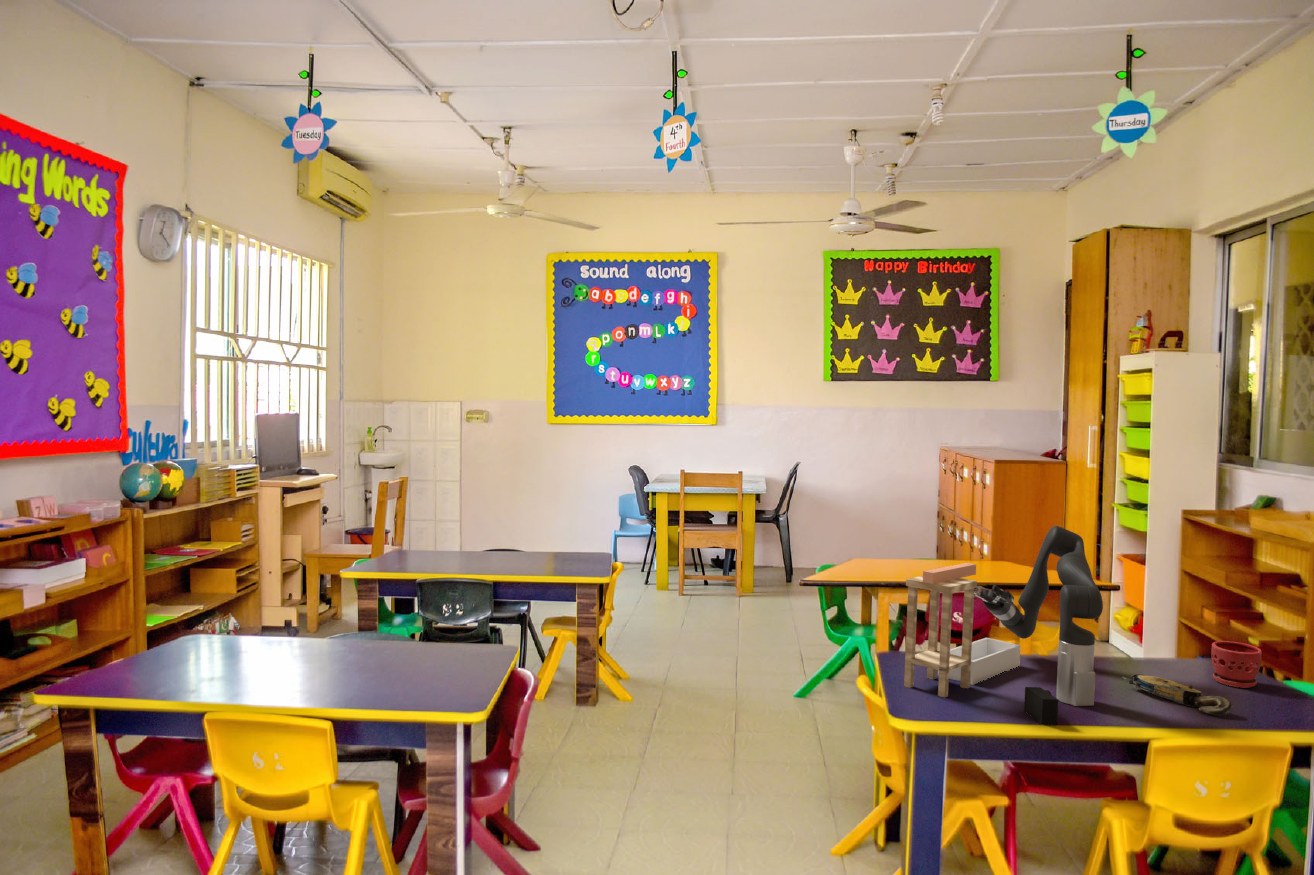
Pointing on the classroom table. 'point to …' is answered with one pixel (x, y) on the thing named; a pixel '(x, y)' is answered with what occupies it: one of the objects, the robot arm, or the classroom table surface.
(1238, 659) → the plant pot
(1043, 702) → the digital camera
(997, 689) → the classroom table surface
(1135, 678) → the pulley block
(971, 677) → the grey bin
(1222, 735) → the classroom table surface
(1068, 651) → the robot arm
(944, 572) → the brown rectangular block
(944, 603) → the tall stand
